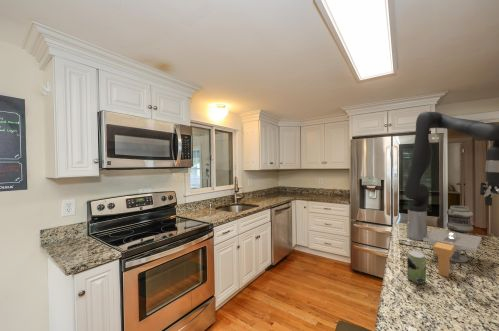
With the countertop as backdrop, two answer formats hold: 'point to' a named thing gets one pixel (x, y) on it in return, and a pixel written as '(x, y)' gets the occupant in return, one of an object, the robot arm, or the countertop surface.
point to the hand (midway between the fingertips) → (497, 207)
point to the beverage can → (416, 266)
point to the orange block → (443, 257)
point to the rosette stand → (454, 242)
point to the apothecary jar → (459, 219)
